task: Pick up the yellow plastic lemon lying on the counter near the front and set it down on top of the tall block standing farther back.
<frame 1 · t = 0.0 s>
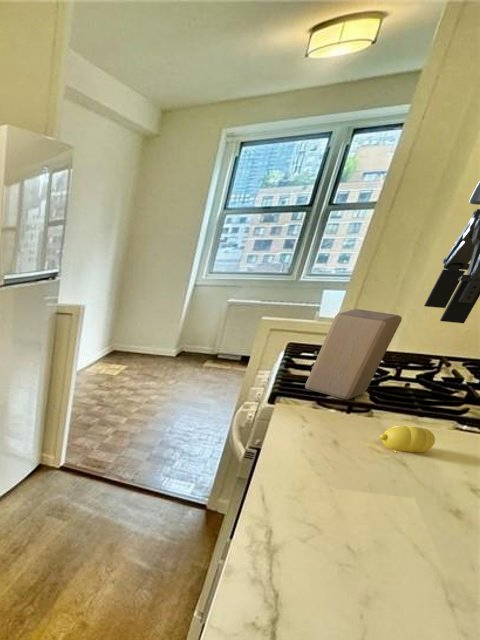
hand: (442, 314, 85), 27 cm above the worktop, tool pointing down, fingers open, 13 cm apart
block: (333, 392, 126), on the worktop
lemon: (401, 450, 98), on the worktop
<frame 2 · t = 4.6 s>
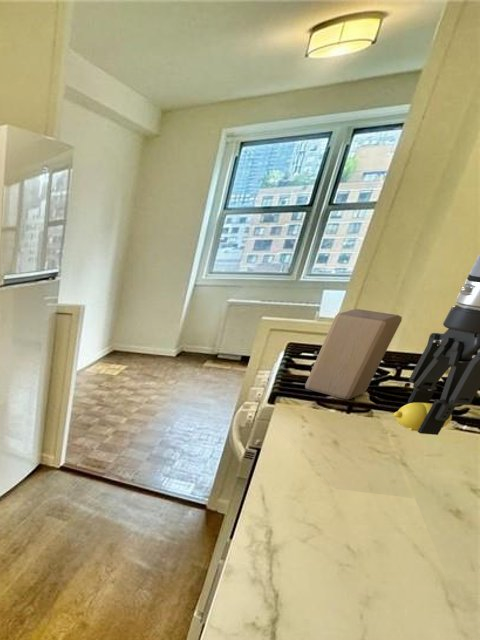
hand: (417, 426, 95), 5 cm above the worktop, tool pointing down, fingers closed on lemon, 5 cm apart
lemon: (416, 428, 95), point 5 cm above the worktop, touching gripper
everything else where it was.
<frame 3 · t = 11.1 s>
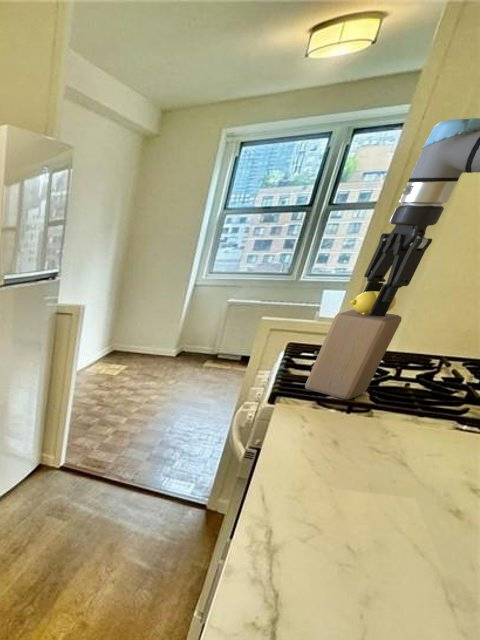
hand: (369, 312, 116), 20 cm above the worktop, tool pointing down, fingers closed on lemon, 5 cm apart
block: (333, 392, 126), on the worktop, touching gripper, lemon
lemon: (368, 313, 116), point 20 cm above the worktop, touching block, gripper
when the fingers open (20 cm above the worktop, at t = 11.2 s): lemon stays where it is, resting on block.
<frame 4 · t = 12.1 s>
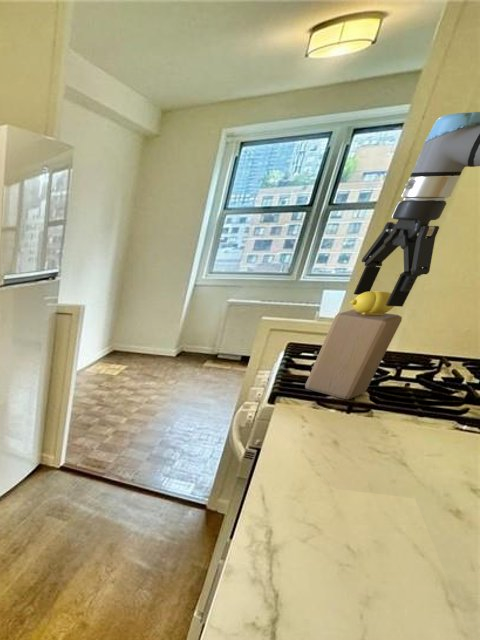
hand: (376, 300, 115), 23 cm above the worktop, tool pointing down, fingers open, 13 cm apart
block: (333, 392, 126), on the worktop, touching lemon
lemon: (368, 313, 116), point 20 cm above the worktop, touching block
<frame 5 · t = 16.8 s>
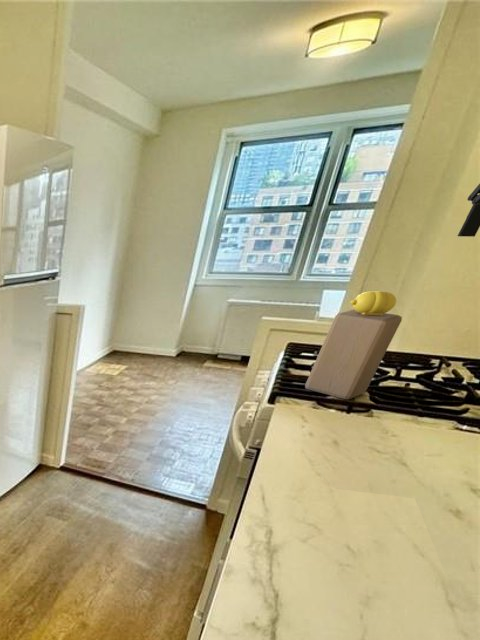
nothing on the worktop moved.
at the end: lemon inside the target area on the block (0.2 cm from its centre), point 20.2 cm above the block's base; the gripper is holding nothing; block tilted 0° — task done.
